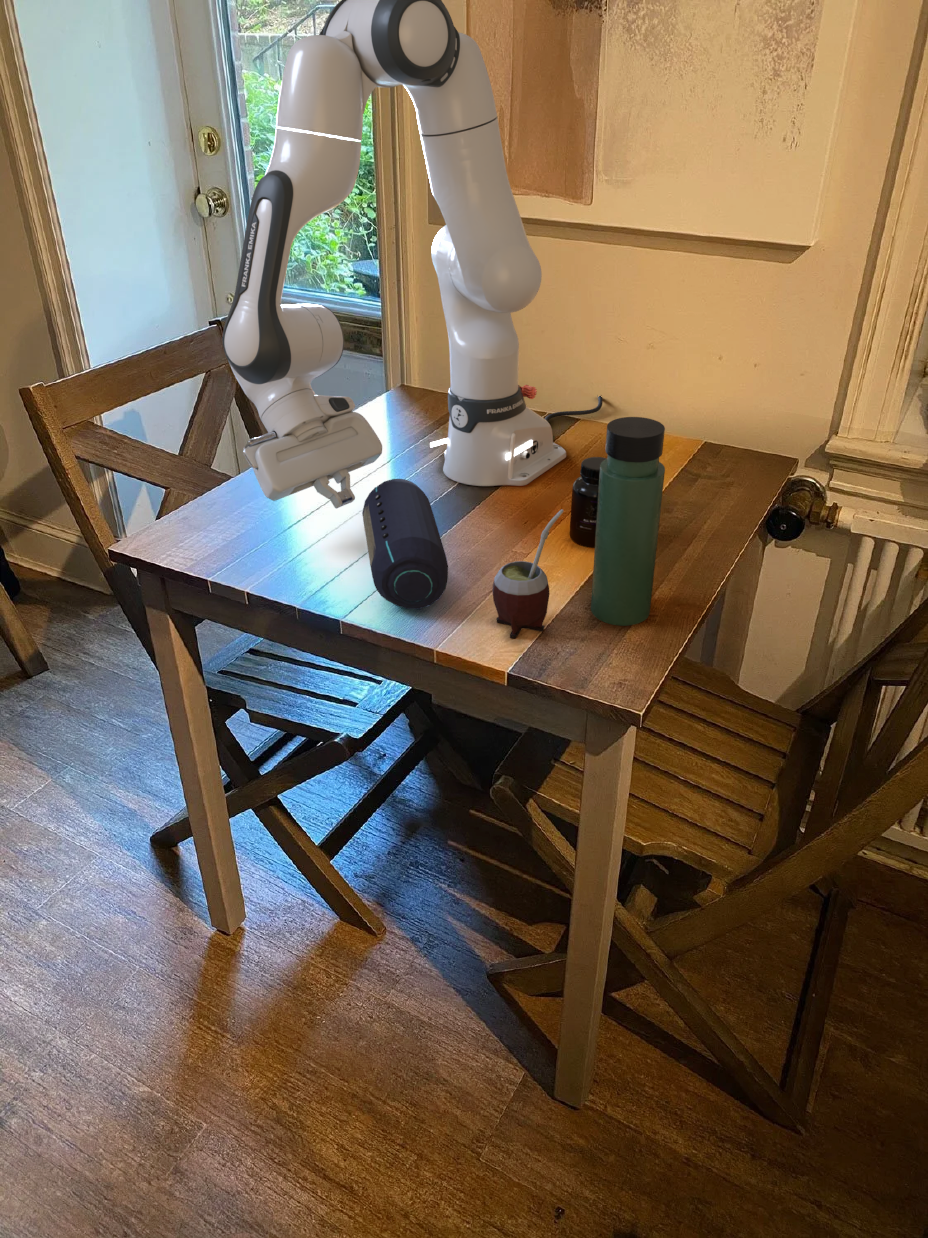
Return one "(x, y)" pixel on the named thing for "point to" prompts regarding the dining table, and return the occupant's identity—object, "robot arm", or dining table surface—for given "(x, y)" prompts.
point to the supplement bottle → (585, 503)
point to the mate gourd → (523, 591)
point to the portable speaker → (404, 545)
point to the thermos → (628, 521)
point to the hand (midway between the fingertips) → (345, 503)
